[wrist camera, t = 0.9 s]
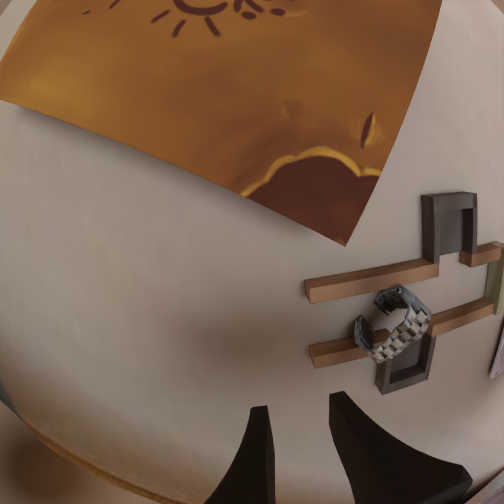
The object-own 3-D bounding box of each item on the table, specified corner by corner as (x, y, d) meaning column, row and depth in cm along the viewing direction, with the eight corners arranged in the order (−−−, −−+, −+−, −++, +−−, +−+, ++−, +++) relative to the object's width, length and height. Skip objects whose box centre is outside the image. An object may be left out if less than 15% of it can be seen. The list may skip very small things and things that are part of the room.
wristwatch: (405, 293, 20) (440, 320, 15) (355, 338, 20) (380, 375, 16) (386, 265, 19) (422, 289, 14) (333, 313, 20) (357, 350, 15)
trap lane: (496, 189, 17) (512, 191, 15) (480, 344, 21) (491, 353, 19) (296, 209, 17) (303, 213, 15) (312, 399, 21) (317, 416, 19)
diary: (407, 19, 14) (445, -11, 9) (315, 226, 18) (346, 247, 12) (152, -66, 11) (137, -103, 6) (32, 106, 15) (-17, 94, 9)
